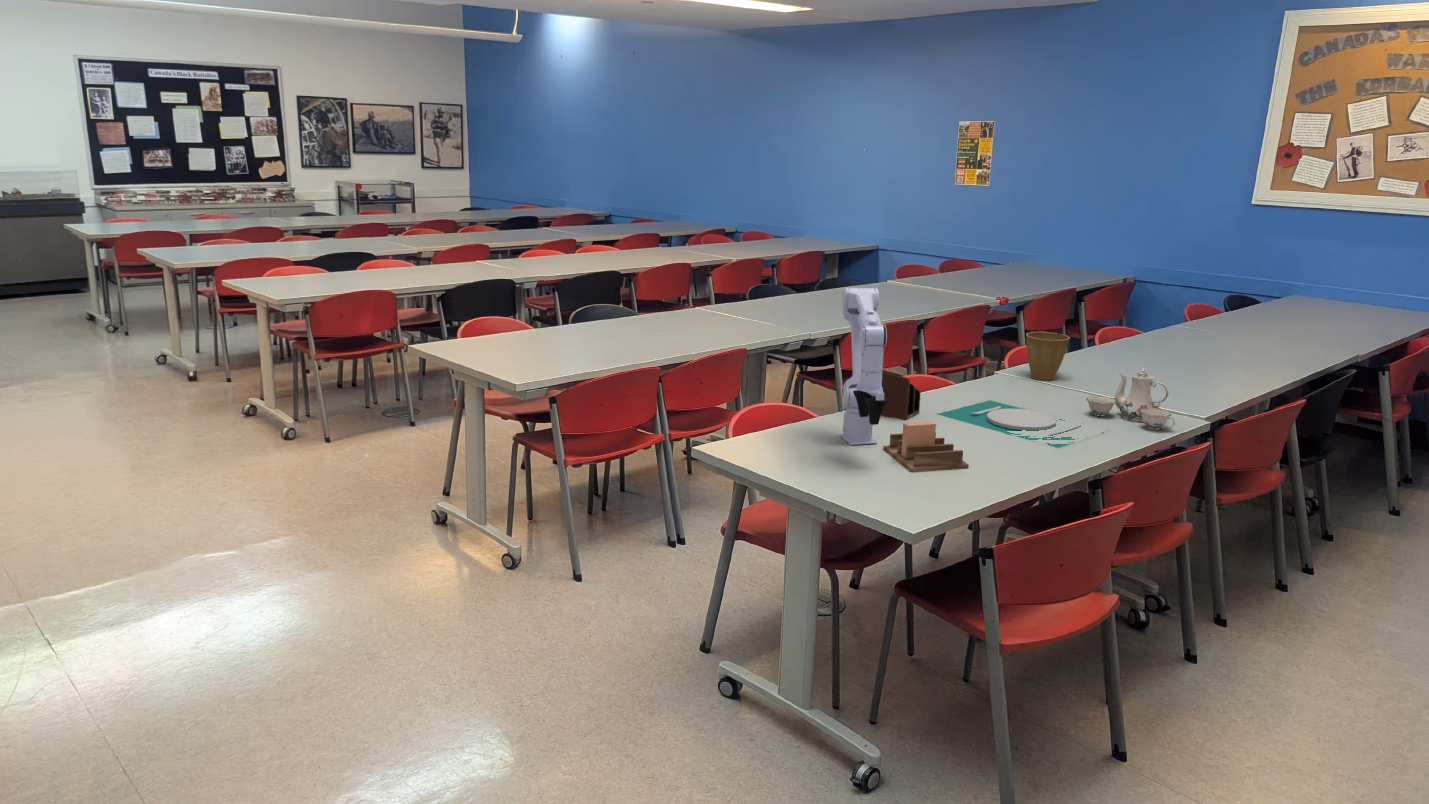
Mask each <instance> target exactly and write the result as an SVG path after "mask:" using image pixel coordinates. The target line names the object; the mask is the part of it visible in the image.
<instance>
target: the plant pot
mask: <svg viewBox="0 0 1429 804" xmlns="http://www.w3.org/2000/svg"><path fill="white" fill-rule="evenodd" d="M1025 335H1026V336H1025V338H1026V340H1025V341H1026V352H1027V353H1026V354H1027V360H1028V366H1029V370H1030V374H1031V377H1032V378H1033V379H1035V380H1036V381H1037V380H1038V381H1044V382H1045V381H1049V382H1050V381H1053V380H1054V379H1055V378H1056V376H1057V373H1058V371H1059V369H1060V366H1061V365H1062V364H1063V363H1062V362H1063V361H1064V360H1063V359H1064V358H1065V355H1066V352H1067V349H1068V345H1069V342H1070V339H1071V337H1070V336H1069V335H1066V334H1061V333H1058V332H1051V331H1050V332H1048V331H1030V332H1026V333H1025Z"/></svg>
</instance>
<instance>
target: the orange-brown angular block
mask: <svg viewBox="0 0 1429 804" xmlns="http://www.w3.org/2000/svg"><path fill="white" fill-rule="evenodd" d="M936 427H937V424H936V423H935V422H933V421H932V420H926V421H912V422H909V421H908V422H903V423H902V433H903V435H902V450H901V455H902V456H903V457H905V458H906V446H921V445H934V443H935V432H936Z"/></svg>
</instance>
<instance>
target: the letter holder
mask: <svg viewBox="0 0 1429 804" xmlns="http://www.w3.org/2000/svg"><path fill="white" fill-rule="evenodd" d="M852 376H853V371H852V372H851V377H852ZM882 389H883V393H884V399H887V400H888V402H887V404H886V405H885V407H884V409H883V411H882V414H881V417H888V418H891V419H897V420H901V421H908V420H910V419H911V418H914V417H916V415H918V414H920V409H921V408H920V405H921V404H920V403H921V391H920V389H918V388H916V387H915V385H914V384H912V383H911V380H910V379H909V378H908V377H906V376H903V375H899V374H897V373H891V372H886V371H882Z"/></svg>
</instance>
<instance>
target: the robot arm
mask: <svg viewBox="0 0 1429 804" xmlns="http://www.w3.org/2000/svg"><path fill="white" fill-rule="evenodd" d="M842 290H843V291H842V315H843V319H844V320H846V321H847V322H849V327H850V332H851V335H850V336H851V360H852V361H851V364H852V365H851V367H852V368H851V369H852V372H853V376H852V375H851V377H850V378H848V379H846V380H845V382H844V383H843V386H842V387H843V389H842V390H843V391H842V406H843V408H844V409H845V411H844V414H843V423H842V425H843V427H842V433H839V436H840V437H841V438H842V439H843V440H844V441H845V442H846V443H848V444H849V445H850V446H853V445H854V446H856V445H859V446H860V445H871V444H872V445H873V444H877V443H878V441H877V440H875V439H874V438H873V427H874V426H873V425H879V422H880V420H881V417H882V416H881V414H882V411H883V409H884V407H885V405H886V404H887V402H888V400H887V399H884V393H883V389H882V372H883V370H884V369H883V365H884V351H885V347H886V345H887V341H888V331H887V327H886V326H887V325H885V324H882V322H881V319H880V315H879V313H878V309H879V305H880V304H879V303H880V291H879V289H878V287H872V288H871V287H870V288H869V287H868V288H867V287H862V288H861V287H845V288H844V289H842Z"/></svg>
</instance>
